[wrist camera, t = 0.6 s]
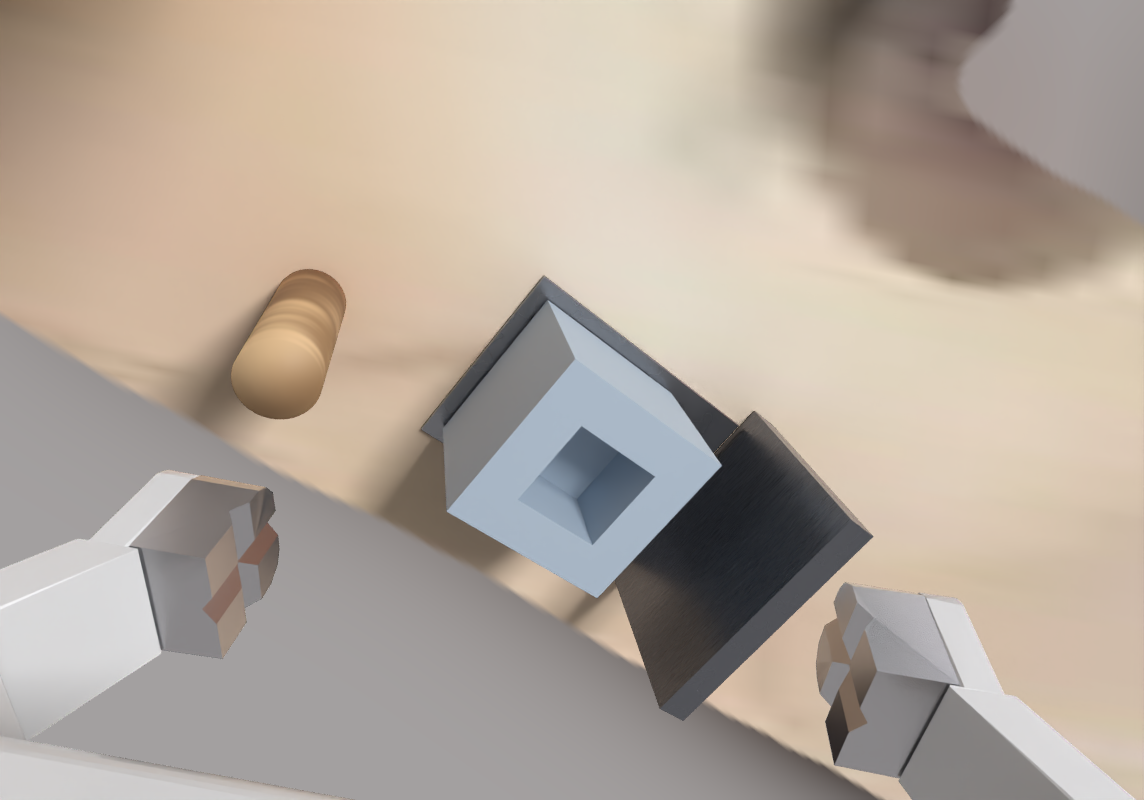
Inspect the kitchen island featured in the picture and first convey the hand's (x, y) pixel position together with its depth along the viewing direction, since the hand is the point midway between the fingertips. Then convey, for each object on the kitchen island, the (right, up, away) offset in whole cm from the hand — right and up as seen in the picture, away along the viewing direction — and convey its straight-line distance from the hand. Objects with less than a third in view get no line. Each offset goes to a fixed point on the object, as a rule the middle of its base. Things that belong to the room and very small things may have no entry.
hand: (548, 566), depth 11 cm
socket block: (-1, +2, +41) cm, 41 cm away
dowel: (-15, +8, +35) cm, 39 cm away
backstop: (+2, 0, +42) cm, 43 cm away
